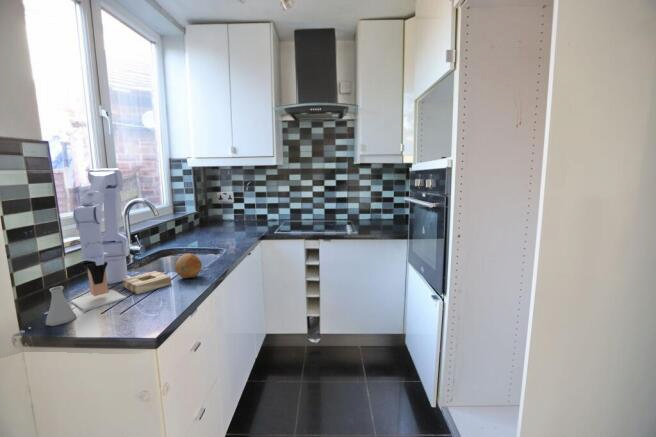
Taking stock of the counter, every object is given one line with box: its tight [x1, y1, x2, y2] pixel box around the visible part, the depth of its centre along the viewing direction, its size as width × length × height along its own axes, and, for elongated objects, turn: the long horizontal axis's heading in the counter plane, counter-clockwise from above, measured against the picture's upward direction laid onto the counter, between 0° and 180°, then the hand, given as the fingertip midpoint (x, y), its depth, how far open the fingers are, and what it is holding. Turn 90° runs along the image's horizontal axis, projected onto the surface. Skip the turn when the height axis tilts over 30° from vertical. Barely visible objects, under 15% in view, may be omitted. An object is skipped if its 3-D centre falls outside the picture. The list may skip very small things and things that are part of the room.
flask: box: [45, 285, 77, 327], centre depth 92 cm, size 7×7×10 cm
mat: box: [70, 289, 127, 312], centre depth 107 cm, size 12×12×1 cm
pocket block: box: [122, 270, 172, 295], centre depth 120 cm, size 12×12×3 cm
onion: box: [174, 253, 202, 279], centre depth 127 cm, size 10×10×10 cm
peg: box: [87, 269, 109, 296], centre depth 106 cm, size 4×4×9 cm
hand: (96, 282), depth 106 cm, fingers closed on peg, 4 cm apart
